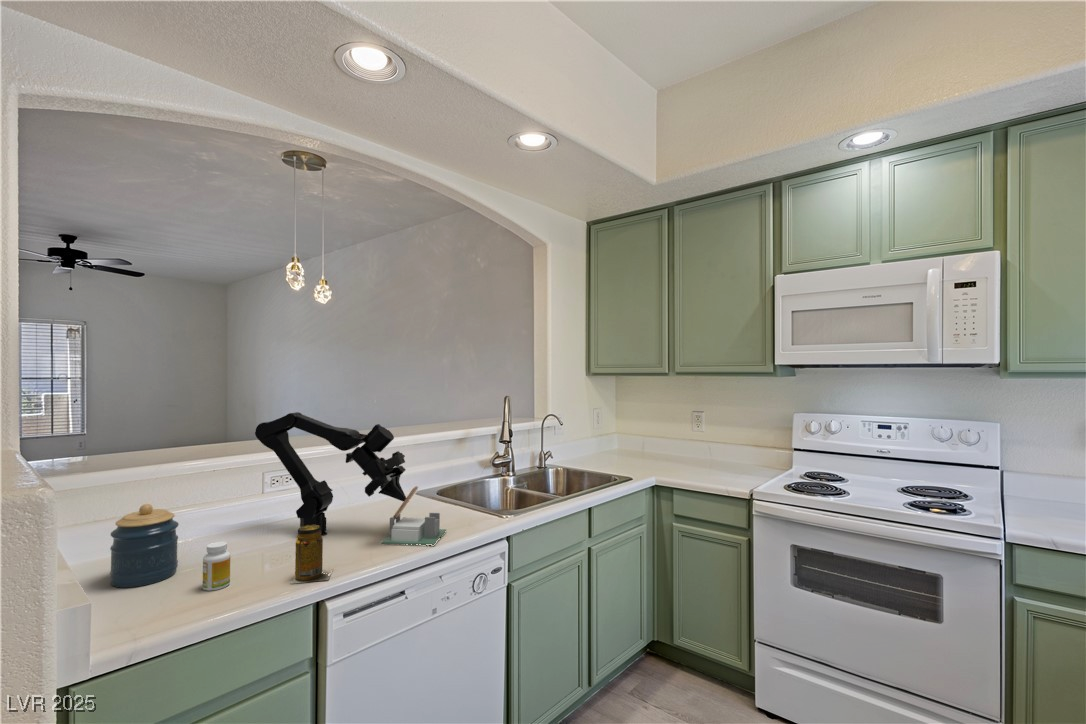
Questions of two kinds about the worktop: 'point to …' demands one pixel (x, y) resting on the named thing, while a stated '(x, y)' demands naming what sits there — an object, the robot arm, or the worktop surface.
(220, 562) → the supplement bottle
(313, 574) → the condiment
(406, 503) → the brown thin bar
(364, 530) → the worktop surface
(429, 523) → the circuit board module
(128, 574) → the canister
